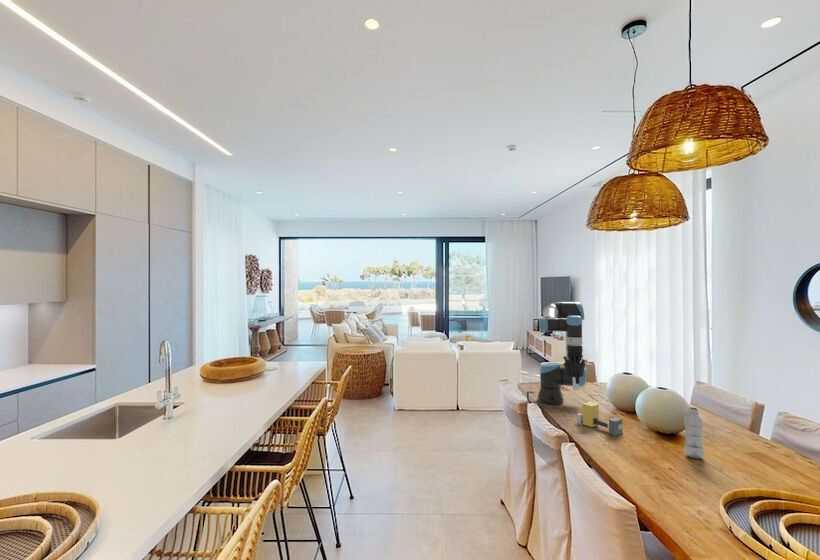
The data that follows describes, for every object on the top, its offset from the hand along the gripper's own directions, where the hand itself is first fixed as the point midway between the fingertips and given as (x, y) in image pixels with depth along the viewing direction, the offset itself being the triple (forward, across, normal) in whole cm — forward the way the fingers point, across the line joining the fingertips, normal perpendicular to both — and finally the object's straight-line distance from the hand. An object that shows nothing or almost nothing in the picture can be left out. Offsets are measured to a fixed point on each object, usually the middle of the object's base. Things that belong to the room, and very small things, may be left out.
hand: (575, 389), depth 202 cm
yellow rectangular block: (+17, +8, 0) cm, 19 cm away
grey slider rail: (+17, +13, 0) cm, 21 cm away
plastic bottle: (+17, +53, +3) cm, 56 cm away
